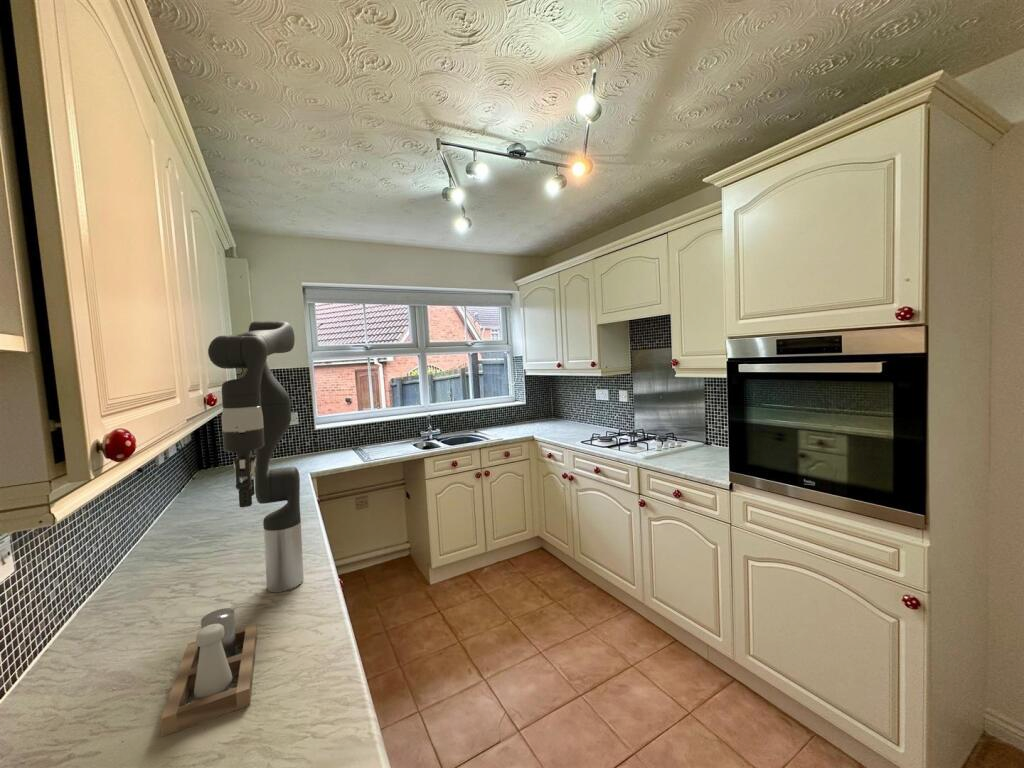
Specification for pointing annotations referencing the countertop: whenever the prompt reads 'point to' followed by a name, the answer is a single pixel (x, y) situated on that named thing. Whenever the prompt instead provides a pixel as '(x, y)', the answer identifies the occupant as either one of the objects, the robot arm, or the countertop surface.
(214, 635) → the salt shaker
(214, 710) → the spice rail
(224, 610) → the pepper shaker
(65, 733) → the countertop surface
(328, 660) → the countertop surface
